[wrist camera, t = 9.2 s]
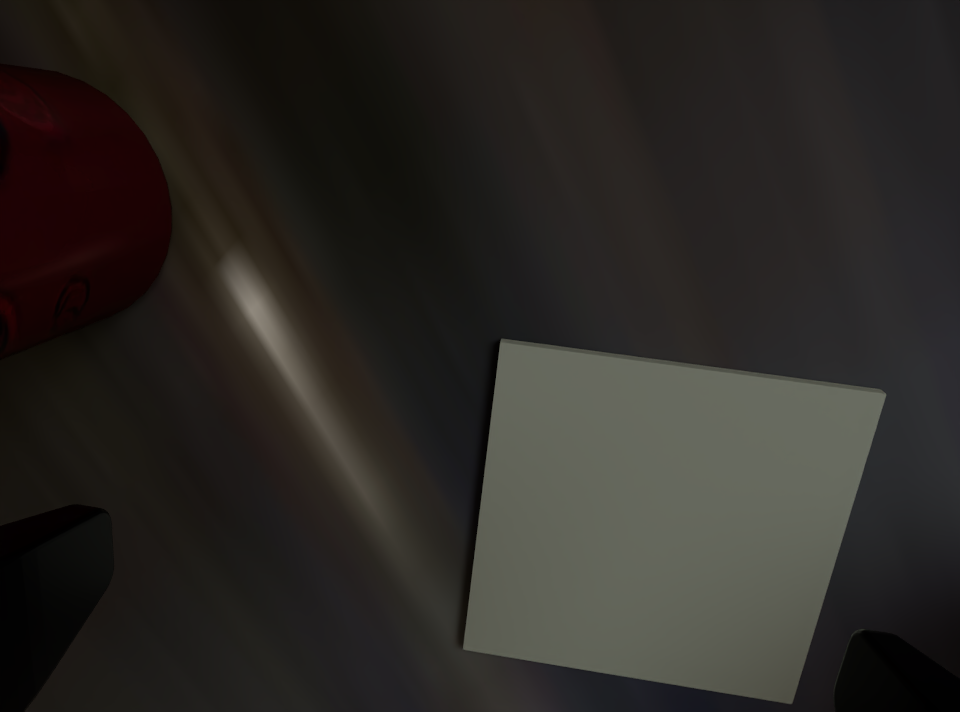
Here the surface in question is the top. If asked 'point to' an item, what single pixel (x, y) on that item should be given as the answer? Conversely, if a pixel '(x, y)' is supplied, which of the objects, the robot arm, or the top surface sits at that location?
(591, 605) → the rubber mat
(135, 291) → the soda can
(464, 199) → the top surface
